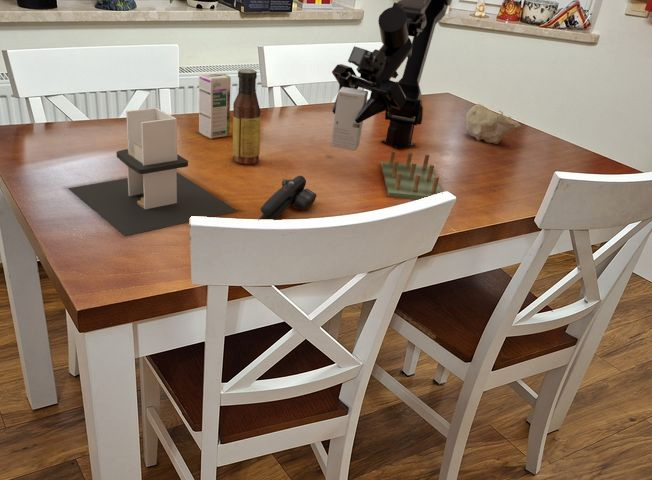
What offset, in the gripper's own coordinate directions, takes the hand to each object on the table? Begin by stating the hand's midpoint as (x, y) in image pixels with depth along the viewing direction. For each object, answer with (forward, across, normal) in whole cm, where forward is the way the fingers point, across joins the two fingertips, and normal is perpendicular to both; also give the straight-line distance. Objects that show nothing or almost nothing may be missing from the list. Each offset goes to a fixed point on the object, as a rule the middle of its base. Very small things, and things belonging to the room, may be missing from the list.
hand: (344, 117), depth 142 cm
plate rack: (+1, +12, +17) cm, 21 cm away
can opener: (+27, +12, -9) cm, 31 cm away
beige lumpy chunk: (-31, 0, +51) cm, 60 cm away
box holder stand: (+40, -6, -23) cm, 47 cm away
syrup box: (+16, -36, +2) cm, 40 cm away
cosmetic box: (+4, 0, +6) cm, 7 cm away
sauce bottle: (+19, -16, -1) cm, 25 cm away
